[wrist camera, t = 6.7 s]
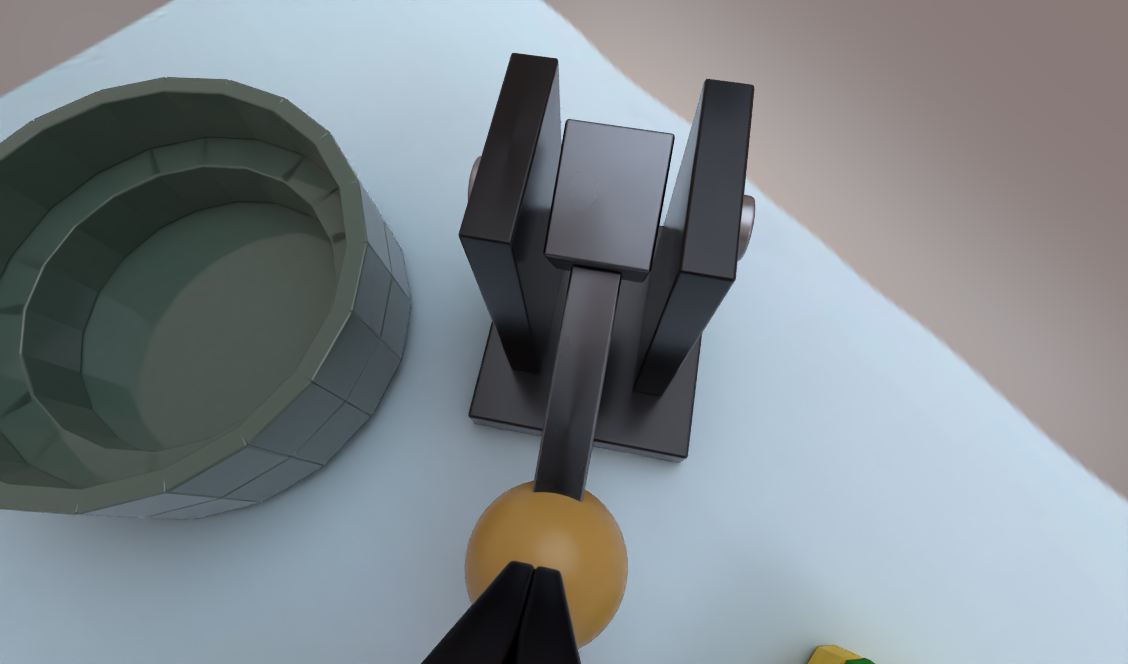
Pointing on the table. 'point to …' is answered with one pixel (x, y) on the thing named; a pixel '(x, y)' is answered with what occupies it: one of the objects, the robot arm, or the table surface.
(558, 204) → the tap lever
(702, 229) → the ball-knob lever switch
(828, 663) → the dish sponge
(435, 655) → the robot arm
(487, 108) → the table surface
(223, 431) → the basin
